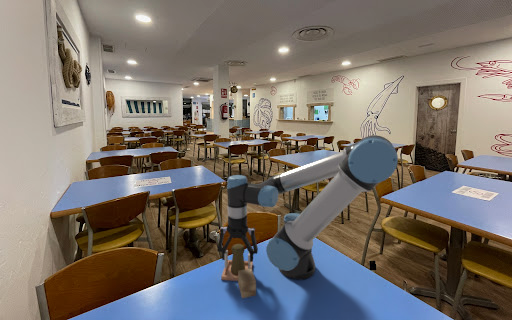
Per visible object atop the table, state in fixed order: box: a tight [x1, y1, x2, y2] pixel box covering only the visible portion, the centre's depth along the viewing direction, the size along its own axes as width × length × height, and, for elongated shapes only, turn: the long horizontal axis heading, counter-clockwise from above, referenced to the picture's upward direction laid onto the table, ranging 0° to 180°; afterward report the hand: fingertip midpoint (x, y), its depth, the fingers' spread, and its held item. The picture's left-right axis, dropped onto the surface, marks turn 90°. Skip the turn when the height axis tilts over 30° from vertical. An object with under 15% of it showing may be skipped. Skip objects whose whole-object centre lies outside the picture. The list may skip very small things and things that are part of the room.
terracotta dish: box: [220, 259, 254, 282], centre depth 98 cm, size 11×11×1 cm
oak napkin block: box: [237, 268, 257, 299], centre depth 87 cm, size 5×7×6 cm
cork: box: [231, 243, 245, 275], centre depth 97 cm, size 6×6×11 cm
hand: (237, 267), depth 98 cm, fingers open, 9 cm apart
